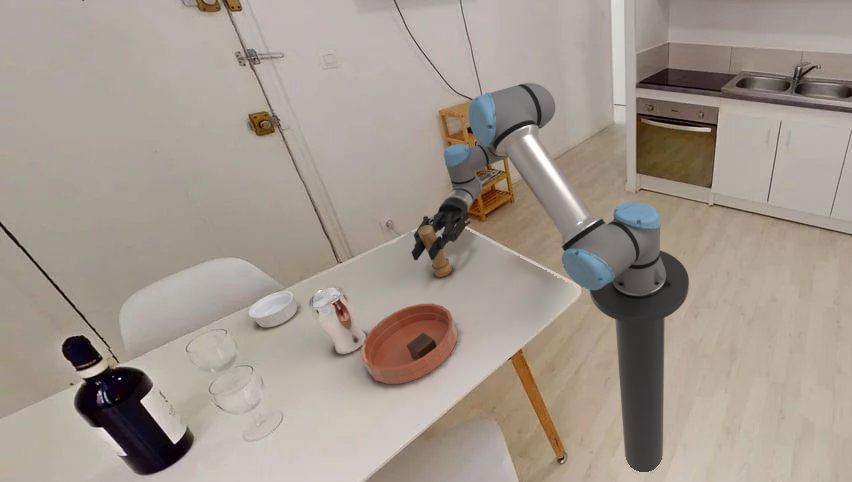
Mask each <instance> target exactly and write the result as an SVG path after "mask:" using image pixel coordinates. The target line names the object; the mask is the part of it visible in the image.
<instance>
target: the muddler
mask: <svg viewBox="0 0 852 482" xmlns="http://www.w3.org/2000/svg"><path fill="white" fill-rule="evenodd" d="M418 233H419V235H420V238H421V240H422V242H423V244H424V246H425V251H426V253H427V255H428V257H429V258H430V256H429V253H428V251H429V250H430V248H431V247H432V245H433V244H434V242H435V241H436V239H437V238H438V236H437V234H436V233H435V232H434V229H433V227H432V226H431V225H425V226H422V227H421V228H420V229H419V230H418ZM430 262H431V269H432V271H433V273H434V275H435V276H436V277H437V278H438V277H439V278H442V277H446V276H448V275H449V274H450V273H451V272H452V270H453V267H452V264H451V262H450V260H449V259H448V258H447V256H445V253H444V251H443V249H442V250H440V251H439V252H438V254H437V255H436V257H435V259H434V260H431V259H430Z"/></svg>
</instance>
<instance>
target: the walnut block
mask: <svg viewBox="0 0 852 482" xmlns="http://www.w3.org/2000/svg"><path fill="white" fill-rule="evenodd" d="M407 347H408V350H409V352H410V354H411V356H412V358H414V359H415V360H418V359H420V358H422V357H424V356H425V355H426V354H428V353H429V352H430V351H432V350H433V349H434V348H436V343H435V341H434V339H433V338H431V337H429V336H428V335H426V334H424V333H421V334H420V335H419V336H418V337H416V338H415V339H414V340H413V341H411V342H410V343H409V344H408V345H407Z"/></svg>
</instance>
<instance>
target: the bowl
mask: <svg viewBox="0 0 852 482" xmlns="http://www.w3.org/2000/svg"><path fill="white" fill-rule="evenodd" d="M421 333H424V334H426V335H428V336H429V337H431V338H433V339H434V341H435V343H436V348H434V349H433V350H432V351H430V352H429V353H428V354H426V355H425V356H424V357H422V358H420V359H418V360H415V359H414V358H412V356H411V354H410V352H409V350H408V347H407V345H408V344H409V343H410V342H411V341H413V340H414V339H415V338H416V337H418V336H419V335H420V334H421ZM457 339H458V330H457V327H456V324H455V321H454V318H453V315H452V314H451V312H450V310H449V309H447V308H446V307H444V306H443V305H440V304H436V303H418V304H414V305H409V306H406V307H404V308H402V309H399V310H397V311H394V312H393V313H391V314H390V315H388V316H386V317H385V318H383V319H382V320H381V321H380V322H378V323H377V324H376V325H375V326H373V328H372V329H371V330H370V331H369V333H368V334H367V336H366V339H365V340H364V342H363V344H362V346H361V348H360V354H361V360H362V362H363V364H364V366H365V369H367V372H368V373H369V375H370V376H371V377H372V378H373V379H374V380H375V381H377V382H380V383H383V384H386V385H395V384H396V385H399V384H404V383H409V382H412V381H416V380H417V379H420V378H422V377H424V376H426V375H428V374H429V373H431V372H433V371H434V370H435V369H436V368H438V367H439V366H440V365H442V363H444V361H445V360H446V359H447V358H448V357H449V356H450V354H451V353H452V351H453V349H454V347H455V345H456V343H457Z"/></svg>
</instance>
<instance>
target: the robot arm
mask: <svg viewBox="0 0 852 482" xmlns="http://www.w3.org/2000/svg"><path fill="white" fill-rule="evenodd" d="M555 113H556V102H555V98H554V96H553V95H552V93H551V92H550V91H549V90H548V89H547V88H546V87H544V86H542V85H541V84H539V83H534V82H524V83H521V84H518V85H512V86H509V87H505V88H503V89H499V90H496V91H491V92H485V93H484V94H481V95H479V96H475V97H473V98H472V100H470V103H469V105H468V113H467V114H468V121H469V127H470V129H471V132H472V134H473V136H474V138H475V140H476V142H477V143H478V144H476V145H473V146H470V147H469V146H468V145H467V144H464V143H457V144H452V145H449V146H447V147H446V148H445V149H444V151H443V158H444V163H445V166H446V169H447V172H448V175H449V179H450V183H451V187H452V190H451V191H450V193H449V194H448V195H447V197H446V198H445V199H444V201H443V202H442V203H441V204H440V206H439V208H438V211H437V213H435V214H434V215H433V216H431V217H428V215H424V216H423V217H422V222H421V223H420V225H419V226H418V228H417V230H416V231H415V232H414V234H413V238H414V241H415V243H414V245H413V246H414V247H413V249H412V250H411V255H412V258H413V260H414V261H418V260H419V258H420V257H421V256H422V254H423V253H424V251H426V249H425V246H424V244H423V242H422V240H421V238H420V235H419V233H418V230H419V229H420V228H421V227H422V226H425V225H431V226H432V227H433V229H434V232H435V234H436V233H438V232H439V231H443V232H442V233H440V235H441V236H440V235H439V236H437V239H436V241H435V242H434V244H433V245H432V247H431V248H430V250H429V251H428V253H429V255H428V257H429V256H430V257H429V259H430V261H431V260H434V259H435V257H436V255H437V254H438V252H439V251H440V250H443V249H444V248H445V246H446V245H447V244H448V243H449V242H451V243H455V242H457V240H458V239H459V237H460V236H461V235H462V233H463V232H464V230H465V228H466V227H467V226H469V225H470V224H471V219H470V216H469V214H468V212H469V211H470V209H471V207H472V206H473V204H474V202H475V201H476V199H477V198H478V196H480V193H481V192H482V190H483V189H482V188H483V181H482V180H481V178H480V177H479V176H477V175H476V173H475V172H476V171H478V170H480V169H483V168H485V167H488V166H489V165H493V164H495V163H498V162H500V161H504V160H506V159H508V160H509V161H510V162H511V164H512V166H514V168H515V170H516V171H517V173H518V174H519V175H520V177H521V179H522V180H523V181H524V183H525V184H526V185H527V187H528V188H529V190H530V191H531V193H532V194H533V196H534V197H535V199H536V200H537V202H538V203H539V204H540V206H541V207H542V209H543V211H544V212H545V214H547V216H548V217H549V220H550V221H551V222H552V223H553V225H554V227H555V228H556V229H557V231H558V233H560V235H561V237H562V238H561V244H560V247H561V248H562V250H563V253H562V256H561V264H563V269H564V271H565V272H566V274H567V275H568V276H569V278H570V279H571V280H572V281H573V282H574V283H575V284H577V285H578V286H580V287H581V288H584V289H586V290H588V291H590V290H598V289H601V288H602V287H604V286H605V285H606V284H608V283H610V282H612V285H613V287H614V289H615V290H616V291H617V292H618V293H620V294H621V295H623V296H626V297H629V298H636V299H640V298H647V297H651V296H653V295H655V294H657V293H658V292H660V291H661V290H662V289H663V287H664V286H665V283H667V284H669V285H670V284H671V281H669V280H667V279H666V270H665V267H664V265H663V263H662V260H661V258H660V251H661V219H660V218H661V217H660V214H659V211H658V210H657V209H656V208H655V207H654V206H652V205H650V204H647V203H645V202H644V203H643V202H637V201H629V202H624V203H621V204H619V205H617V206H616V207H615V208H614V210H613V214H612V217H613V220H611V221H610V222H608V223H606V222H605V220H604V219H603V218H602V217H600V216H595V215H592V213H591V211H590V210H589V208H588V207H587V205H586V204H585V203H584V202H583V200H582V199H581V197H580V196H579V194H578V193H577V191H576V190H575V188H574V187H573V186H572V184H571V183H570V181H569V179H568V178H567V177H566V176H565V174H564V173H563V171H562V170H561V168H560V167H559V166H558V164H557V163H556V161H555V160H554V158H553V157H552V156H551V154H550V152H549V151H548V150H547V149H546V146H545V145H544V144H543V142H542V141H541V140H540V138H539V131H540V130H541V129H542V128H544V127H545V126H547V124H548V123H549V122H551V120H552V119H553V117H554V116H555ZM442 229H443V230H442ZM428 253H427V254H428Z"/></svg>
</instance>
